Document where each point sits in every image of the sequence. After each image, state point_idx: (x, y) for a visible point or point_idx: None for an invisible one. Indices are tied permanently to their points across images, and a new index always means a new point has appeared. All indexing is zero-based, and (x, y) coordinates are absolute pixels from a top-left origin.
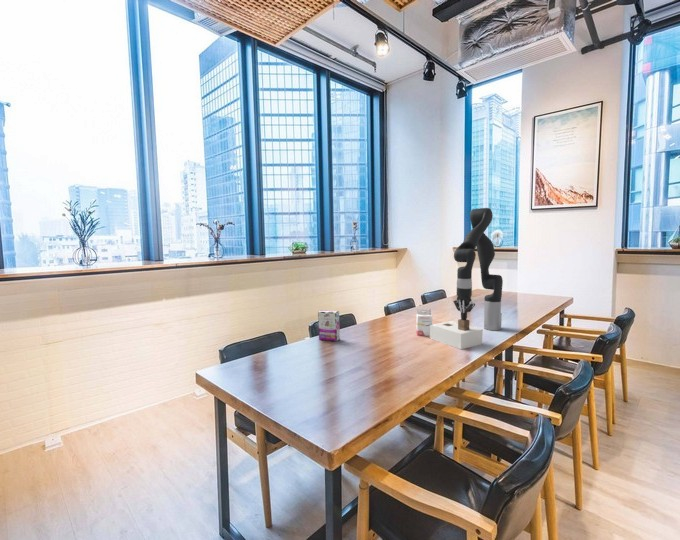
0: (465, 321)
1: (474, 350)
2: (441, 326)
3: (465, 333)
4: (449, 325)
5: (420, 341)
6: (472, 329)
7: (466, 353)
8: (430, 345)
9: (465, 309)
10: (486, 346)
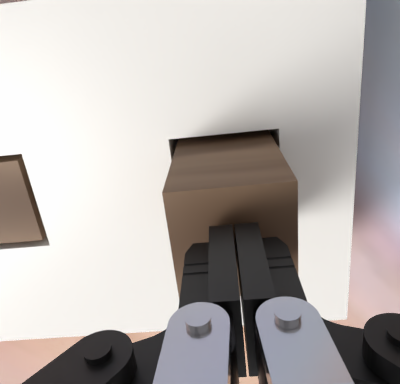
0: (296, 262)
1: (382, 176)
2: (35, 302)
3: (347, 265)
4: (18, 207)
5: (50, 340)
6: (293, 101)
7: (387, 262)
8: (147, 337)
9: (271, 380)
10: (379, 6)
